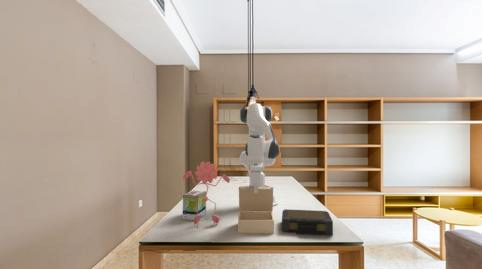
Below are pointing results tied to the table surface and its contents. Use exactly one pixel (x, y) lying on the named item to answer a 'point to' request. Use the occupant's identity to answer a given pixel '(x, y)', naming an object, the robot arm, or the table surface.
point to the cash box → (307, 222)
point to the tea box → (193, 204)
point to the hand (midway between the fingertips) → (255, 192)
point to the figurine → (206, 175)
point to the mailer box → (255, 222)
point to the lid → (255, 199)
